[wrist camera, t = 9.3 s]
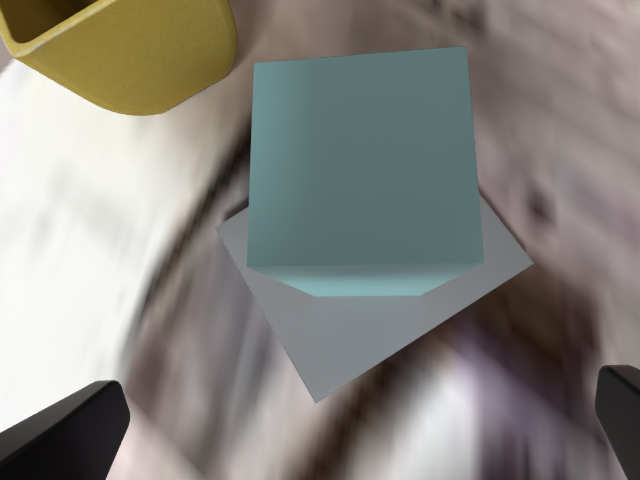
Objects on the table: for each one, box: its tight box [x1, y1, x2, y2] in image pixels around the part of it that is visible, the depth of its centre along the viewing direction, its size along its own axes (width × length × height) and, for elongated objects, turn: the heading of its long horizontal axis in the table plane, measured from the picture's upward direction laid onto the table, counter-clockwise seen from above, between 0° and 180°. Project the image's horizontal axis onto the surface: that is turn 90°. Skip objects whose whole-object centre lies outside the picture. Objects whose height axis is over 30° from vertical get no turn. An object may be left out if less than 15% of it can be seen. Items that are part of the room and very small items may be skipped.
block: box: [247, 46, 484, 297], centre depth 14 cm, size 5×5×11 cm
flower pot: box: [0, 0, 237, 116], centre depth 20 cm, size 9×9×9 cm
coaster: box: [215, 194, 534, 403], centre depth 20 cm, size 10×12×1 cm
